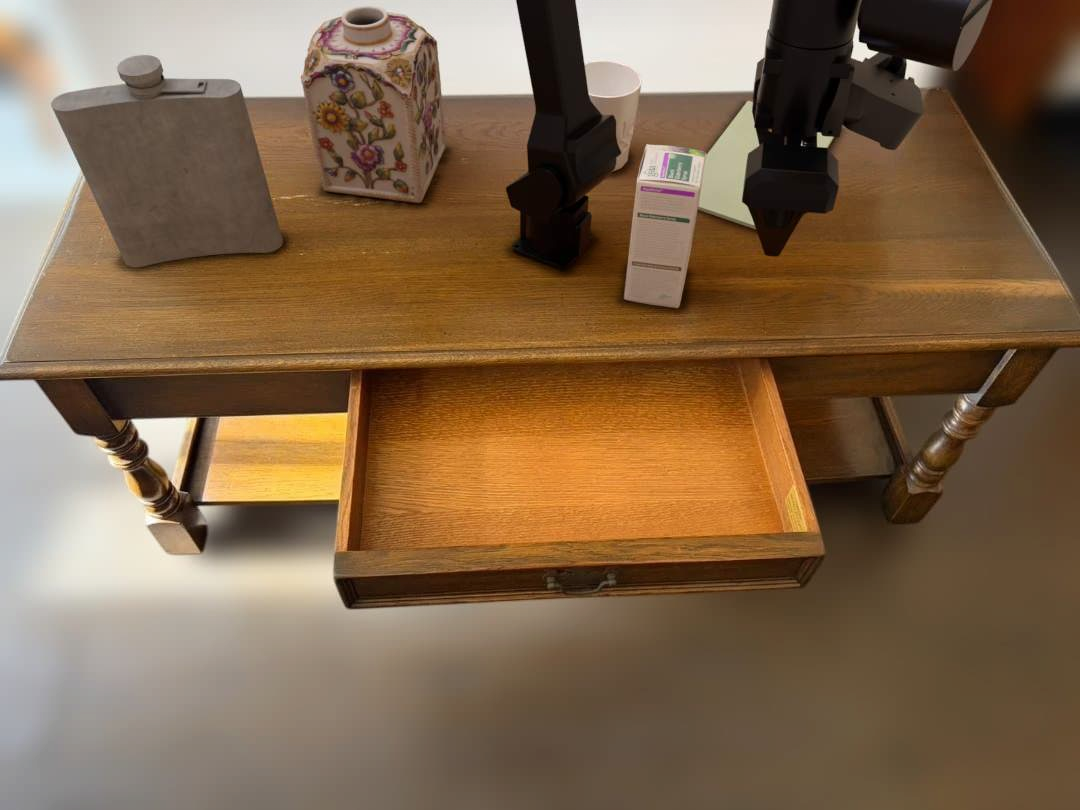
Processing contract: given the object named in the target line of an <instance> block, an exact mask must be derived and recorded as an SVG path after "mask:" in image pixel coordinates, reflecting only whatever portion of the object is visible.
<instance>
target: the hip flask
mask: <svg viewBox="0 0 1080 810" xmlns="http://www.w3.org/2000/svg"><path fill="white" fill-rule="evenodd" d="M116 71H117V73H118V76H119V78H120V80H121V81H122V82H124V83H121V84H120V83H119V84H111V85H106V86H98V87H91V88H86V89H85V88H84V89H80V90H74V91H68V92H63V93H62V94H59V95H57V96H55V97H54V98H53V99H52V101H51V102H50V106H51V108H52V110H53V113H54V115H55V118H56V119H57V121H58V123H59V125H60V128H61V130H62V132H63V134H64V136H65V138H66V141H67V142H68V145H69V147H70V149H71V151H72V153H73V156H74V158H75V160H76V162H77V164H78V166H79V168H80V170H81V172H82V174H83V177H84V179H85V181H86V184H87V185H88V187H89V189H90V192H91V194H92V196H93V198H94V200H95V203H96V205H97V207H98V208H99V211H100V213H101V216H102V217H103V219H104V221H105V223H106V225H107V228H108V230H109V232H110V234H111V236H112V238H113V241H114V243H115V245H116V247H117V250H118V251H119V253H120V255H121V258H122V260H123V262H124V264H125V265H126V266H127V267H130V268H143V267H147V266H151V265H156V264H161V263H165V262H170V261H171V262H172V261H177V260H183V259H190V258H197V257H206V256H207V257H208V256H216V255H226V254H227V255H229V254H268V253H269V254H270V253H272V252H273V253H274V252H275V251H277V250H279V249H280V248H281V247H282V246H283V243H284V239H283V236H282V232H281V228H280V225H279V220H278V218H277V214H276V211H275V206H274V203H273V198H272V195H271V192H270V188H269V185H268V181H267V177H266V174H265V170H264V166H263V162H262V159H261V154H260V151H259V147H258V144H257V141H256V136H255V133H254V130H253V126H252V122H251V118H250V115H249V112H248V108H247V103H246V100H245V96H244V93H243V89H242V86H241V84H240V83H239V81H237V80H234V79H229V78H165V76H164V74H163V73H164V68H163V65H162V62H161V60H160V58H158V57H156V56H154V55H149V54H138V55H133V56H130V57H126V58H124V59H123V60H122V61H120V62H119V63H118V64H117V66H116Z"/></svg>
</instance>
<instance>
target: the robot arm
mask: <svg viewBox="0 0 1080 810" xmlns="http://www.w3.org/2000/svg"><path fill="white" fill-rule="evenodd" d="M993 1H994V0H773V1H772V6H771V13H770V18H769V23H768V24H769V25H768V29H767V31H766V38H765V45H764V55H763V57H762V58H761V59H760V60H759V61H758V62H757V63H756V69H755V76H754V81H753V88H752V89H753V90H752V102H753V106H752V114H753V118H754V123H755V124H754V128H756V133H757V137H758V141H759V146H758V147H757V148H755V149H754V150H752V151H751V152H750V153H748V157H747V163H746V170H745V178H744V186H743V195H742V202H743V203H744V204H745V205H746V206H747V207H748V209H749V212H750V214H751V217H752V219H753V222H754V225H755V227H756V229H755V230H756V234H757V236H758V239H759V241H760V244H761V248H762V251H763V254H764V255H765V256H767V257H776V258H777V257H780V255H781V254H782V252H783V250H784V248H785V247H786V245H787V243H788V241H789V239H790V238H791V236H792V235H793V233H794V231H795V229H796V227H797V226H798V224H799V222H800V221H801V219H802V218H803V216H805V215H806V214H808V213H811V214H823V215H825V214H827V213H829V212H832V211H834V208H835V203H836V201H837V196H838V192H839V188H840V180H839V179H840V177H839V160H838V159H837V157H836V156H835V155H834V154H833V152H831V150H830V149H829V147H828V148H824V147H817V132H819V133H821V135H822V136H829V137H834V138H840V137H841V133H842V130H843V127H844V128H846V129H847V130H849V131H851V132H853V133H855V134H858V135H860V136H862V137H864V138H866V139H869V140H871V141H874V142H877V143H879V146H880V147H881V148H883V149H886V150H890V151H895V150H897V149H898V148H899V147H900V145H901V144H902V143H903V141H904V140H905V138H906V137H907V136H908V135H909V133H910V132H911V130H912V129H913V128H914V127H915V125H916V124H917V122H918V121H919V120H920V119H921V117H922V116H923V115H924V113H925V109H924V108H925V107H924V103H923V102H924V101H923V98H922V91H921V88H920V87H919V86H917V84H916V82H915V78H914V77H912V76H908V78H906V73H907V65H908V61H912V62H915V63H920V64H924V65H928V66H932V67H936V68H940V69H943V70H944V69H945V70H947V71H952V72H957V71H958V70H959V69H961V67H962V66H963V65H964V63H965V62H966V60H967V59H968V57H969V55H970V54H971V52H972V50H973V48H974V46H975V44H976V42H977V40H978V38H979V36H980V34H981V32H982V30H983V27H984V25H985V22H986V20H987V17H988V14H989V12H990V10H991V7H992V3H993ZM515 3H516V8H517V15H518V18H519V25H520V30H521V36H522V42H523V46H524V51H525V58H526V63H527V70H528V73H529V79H530V85H531V90H532V96H533V101H534V107H535V112H534V117H533V119H532V124H531V128H530V132H529V134H528V140H527V143H526V153H527V154H526V157H527V171H526V172H525V173H524V174H522V175H521V176H520V177H518V178H517V179H515V180H514V181H513V182H512V183H510V184H508V185H507V186H506V187H505V191H506V196H507V198H508V202H509V205H510V207H511V208H513V209H514V210H517V211H519V238H518V239H516V241H515V242H514V243H513V244H512V246H511V249H512V252H514V253H516V254H519V255H521V256H524V257H527V258H529V259H532V260H535V261H537V262H539V263H542V264H545V265H547V266H549V267H553V268H555V269H557V270H560V271H566V270H568V269H569V267H570V266H571V265H572V264H573V263H574V261H575V260H577V258H579V257H580V256H581V255H582V254H583V253H584V251H585V250H586V249H587V248H588V246H589V245H590V242H591V241H592V239H593V233H592V232H591V228H592V217H593V214H592V213H591V212H590V211H589V200H590V197H589V196H588V195H587V194H589V193H590V192H591V191H593V190H594V189H595V188H597V186H598V185H600V184H601V183H602V182H604V181H605V180H606V179H607V178H609V176H610V175H611V174H612V173H613V172H614V171H613V170H614V169H615V166H616V158H617V157H618V156H619V155H620V154H621V150H620V148H619V146H618V142H617V138H616V119H615V117H614V116H613V115H602V114H601V112H600V111H599V110H598V109H597V108H596V106H595V105H594V104H593V103H592V101H591V100H590V97H589V93H588V86H587V79H586V72H585V65H584V63H585V57H584V51H583V44H582V37H581V36H582V35H581V29H580V23H579V16H578V15H579V14H578V9H577V0H515ZM856 27H857V29H858V42H859V43H861V44H864V45H865V46H866V47H867V49H868V50H869V51H872V52H875V53H876V54H874V55H872V56H871V57H870V58H868V57H864V59H863V60H862V61H861V60H858V59H855V58H852V56H853V51H854V38H855V32H856ZM907 60H908V61H907ZM802 141H803V142H802ZM801 143H802V146H801ZM612 171H613V172H612Z"/></svg>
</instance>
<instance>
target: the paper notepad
mask: <svg viewBox="0 0 1080 810" xmlns="http://www.w3.org/2000/svg"><path fill="white" fill-rule="evenodd" d="M752 106H753V101H751V100H747V101H746V102H745V104H744V105H743V106H742V108H741V109H740V110H739V112H738V113H737V115H736V116H735V117H734V118H733V119H732V121H731V122H730V124H729V125H728V126H727V127H726V129H725V130H724V131H723V133H722V134H721V135H720V137H719V138H718V139H717V141H716V142H715V143H714V144H713V146H712V147H711V149H710V150H709V151H708V153H706V159H705V165H704V172H703V179H702V185H701V192H700V199H699V206H698V211H700V212H703V213H707V214H709V215H712V216H715V217H718V218H721V219H724V220H726V221H729V222H732V223H735V224H738V225H741V226H744V227H747V228H750V229H752V230H756V227H755V225H754V222H753V219H752V217H751V214H750V212H749V209H748V207H747V206H746V205H745V204H744V203H743V202H742V195H743V186H744V178H745V170H746V163H747V157H748V153H750V152H751V151H752V150H754V149H755V148H757V147H758V146H759V141H758V137H757V133H756V128H754V124H755V123H754V118H753V114H752ZM834 138H835V137H829V136H822V135H821V133H819V132H817V147H824V148H828V149H829V147H830V145H831V143H832V142H833V140H834ZM802 142H803V141H802ZM801 146H802V143H801Z"/></svg>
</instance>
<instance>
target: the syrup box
mask: <svg viewBox="0 0 1080 810" xmlns="http://www.w3.org/2000/svg"><path fill="white" fill-rule="evenodd" d="M706 155H707V152H706V151H703V150H700V149H693V148H689V147H683V146H674V145H663V144H648V143H646V145H645V147H644V151H643V155H642V157H641V161H640V164H639V168H638V174H637V179H636V186H635V194H634V195H635V196H634V202H633V212H632V220H631V229H630V238H629V247H628V257H627V264H626V273H625V283H624V293H623V299H624V300H626V301H629V302H634V303H640V304H645V305H651V306H652V305H653V306H659V307H667V308H674V309H679V308H680V305H681V301H682V297H683V292H684V286H685V281H686V278H687V272H688V267H689V261H690V256H691V251H692V246H693V241H694V237H695V230H696V225H697V219H698V213H699V210H698V206H699V199H700V192H701V185H702V179H703V172H704V165H705V159H706Z"/></svg>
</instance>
